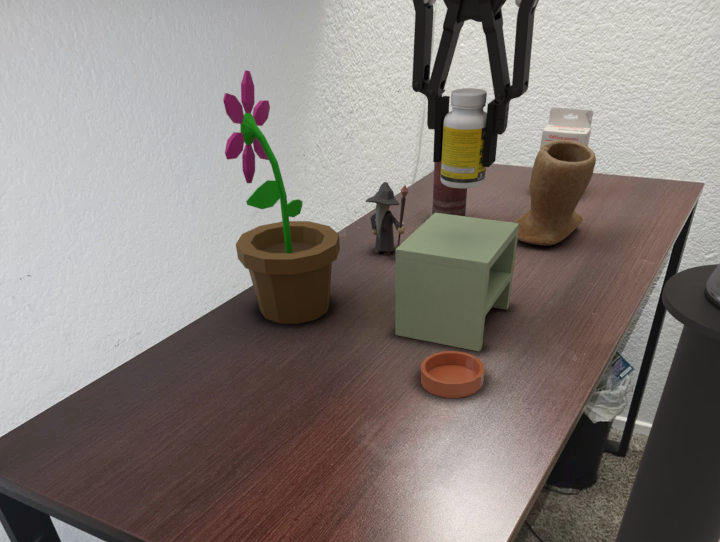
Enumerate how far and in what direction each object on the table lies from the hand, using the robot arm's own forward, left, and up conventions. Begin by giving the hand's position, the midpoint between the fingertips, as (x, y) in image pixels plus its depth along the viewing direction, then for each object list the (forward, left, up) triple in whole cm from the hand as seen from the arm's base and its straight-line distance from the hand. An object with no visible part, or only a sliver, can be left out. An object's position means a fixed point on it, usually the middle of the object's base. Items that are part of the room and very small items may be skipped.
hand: (464, 160), depth 79 cm
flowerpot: (+23, +5, -21) cm, 32 cm away
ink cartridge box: (-1, -59, -21) cm, 63 cm away
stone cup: (-5, -36, -21) cm, 42 cm away
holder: (-5, +15, -21) cm, 26 cm away
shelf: (0, 0, -21) cm, 21 cm away
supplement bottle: (0, 0, -3) cm, 3 cm away
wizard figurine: (+18, -19, -21) cm, 34 cm away
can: (+14, -37, -21) cm, 45 cm away
